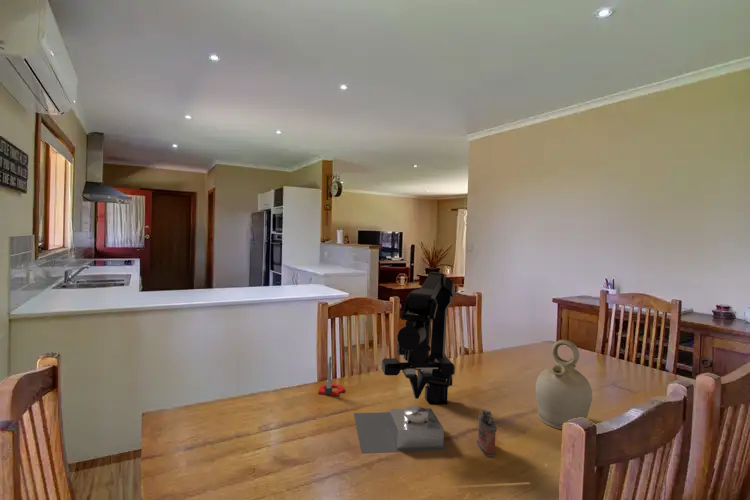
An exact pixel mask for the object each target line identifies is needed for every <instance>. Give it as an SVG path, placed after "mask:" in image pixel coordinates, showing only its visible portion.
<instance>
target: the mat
mask: <svg viewBox="0 0 750 500" xmlns="http://www.w3.org/2000/svg"><path fill="white" fill-rule="evenodd" d="M353 417H354V422H355V427H356V431H357V436H358V437H357V438H358V442H359V446H360V447H359V448H360V451H361V452H360V453H361V454H384V453H385V454H386V453H387V454H388V453H406V452H407V453H408V452H409V453H411V452H412V453H413V452H432V451H434V452H435V451H438V452H440V451H449V449H448V447H447V445H446V444H445V442H444V441H443V448H431V449H404V450H397V448H396V446H395V443H394V440H393V437H392V435H391V432H390V429H389V411H388V412H387V411H385V412H354V413H353Z"/></svg>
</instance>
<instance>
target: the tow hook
mask: <svg viewBox="0 0 750 500" xmlns="http://www.w3.org/2000/svg"><path fill="white" fill-rule="evenodd" d="M332 365H333V363H332V356H329V357H328V364H327V377H326V378H327V379H326V384H322V385H321V386H319V387H318V388H319V389H318V395H323V396H324V395H325V396H332V397H338V396H339V394H342V393H344V391H345V387H344V386H343V385H340V384H335V383H332V368H333V366H332ZM333 388H334V389H336V390H333Z"/></svg>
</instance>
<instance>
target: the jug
mask: <svg viewBox="0 0 750 500" xmlns="http://www.w3.org/2000/svg"><path fill="white" fill-rule="evenodd" d="M563 345H564V346H566V347H569V349H571V351H572V357H571V358H570V359H569V360H565V359H563V358H562V357H560V355H559V354H558V353H559V352H558V350H559V347H561V346H563ZM551 356H552V358H553V359H554V361H555V362H556V364H554V365H552V366H549V367H547V368H545V369H543V370H542V371H541V372H540V373H539V374H538V376H537V378H536V382H535V398H536V404H537V405H536V406H537V414H538V417H539V419H540V421H541V422H542V423H544V424H545V425H547V426H549V427H551V428H554V429H556V430H557V429H558V430H561V431H562V425H563V423H564V422H566V421H568V420H570V419H573V418H578V417H584V418H587V419H588V415H589V413H590V408H591V405H592V402H593V391H592V390H593V389H592V386H591V383H590V382H589V380H588V379H587V378H586V376H585V375H583V374H582V372H580V371H578V370H577V369H576V366H577V363H578V361H580V351H579V348H578V347H577V345H576V344H575V343H574V342H572V341H571V340H569V339H559V340H556V342H554V344H553V345H552V348H551Z"/></svg>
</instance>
